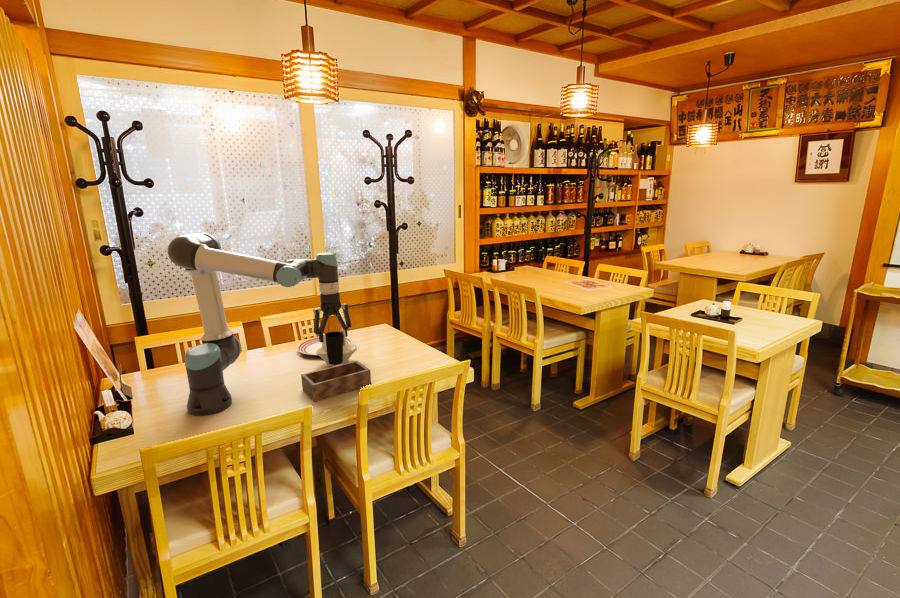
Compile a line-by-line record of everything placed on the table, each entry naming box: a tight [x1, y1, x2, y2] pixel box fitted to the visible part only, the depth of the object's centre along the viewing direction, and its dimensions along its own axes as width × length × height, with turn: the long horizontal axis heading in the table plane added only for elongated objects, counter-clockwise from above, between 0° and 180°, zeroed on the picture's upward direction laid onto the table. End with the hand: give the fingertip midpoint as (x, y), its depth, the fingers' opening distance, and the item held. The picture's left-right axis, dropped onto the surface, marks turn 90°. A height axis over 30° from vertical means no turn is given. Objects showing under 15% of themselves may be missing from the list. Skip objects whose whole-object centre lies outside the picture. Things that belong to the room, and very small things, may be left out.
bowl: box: [316, 343, 357, 367], centre depth 210 cm, size 14×18×15 cm
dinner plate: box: [296, 336, 353, 357], centre depth 230 cm, size 27×27×3 cm
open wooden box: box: [300, 360, 372, 403], centre depth 184 cm, size 24×13×7 cm, turn 127°
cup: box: [324, 331, 343, 365], centre depth 181 cm, size 8×8×12 cm
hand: (334, 347), depth 181 cm, fingers closed on cup, 8 cm apart
